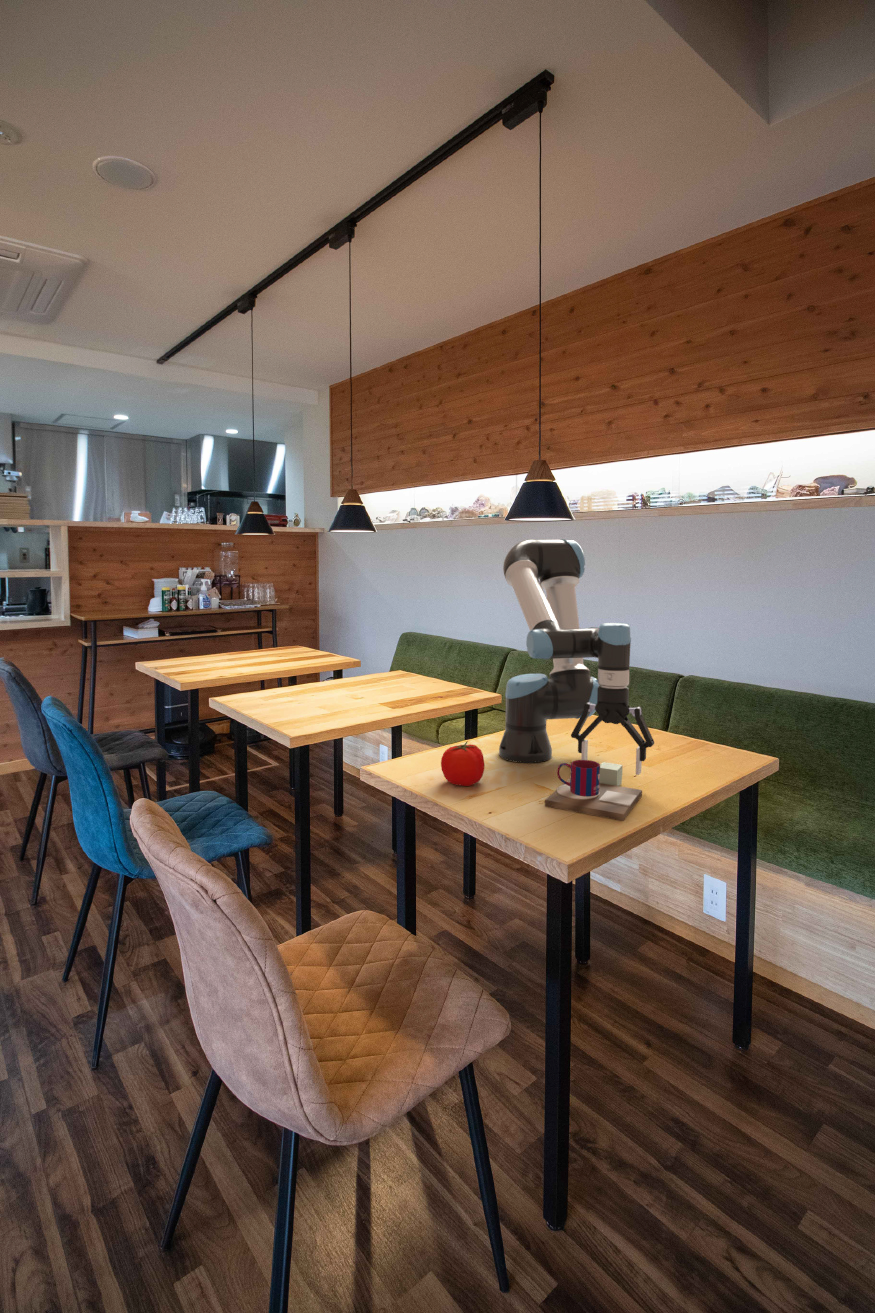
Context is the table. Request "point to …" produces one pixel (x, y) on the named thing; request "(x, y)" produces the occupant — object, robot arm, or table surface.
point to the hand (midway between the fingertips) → (610, 769)
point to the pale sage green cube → (611, 773)
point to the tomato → (463, 764)
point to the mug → (583, 777)
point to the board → (596, 801)
